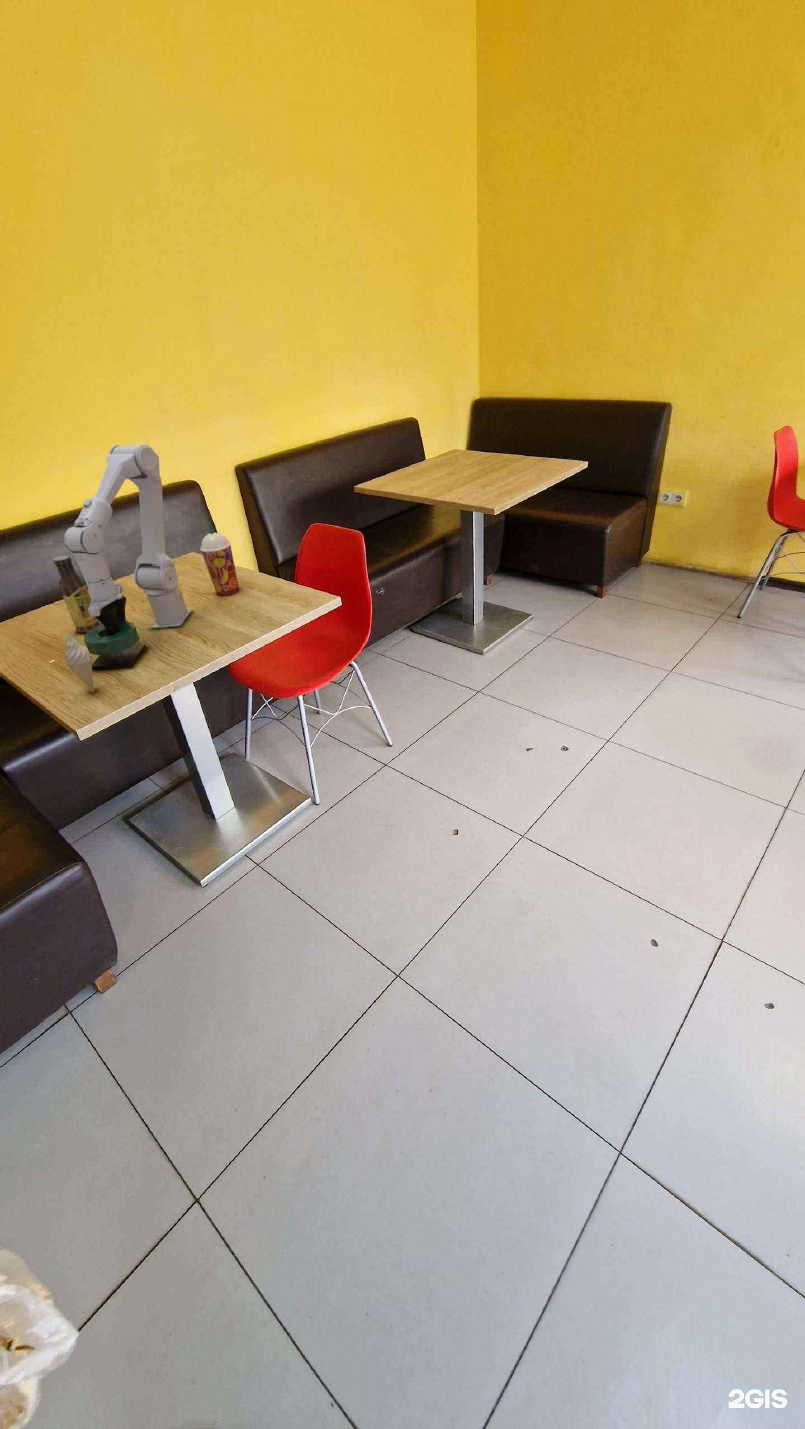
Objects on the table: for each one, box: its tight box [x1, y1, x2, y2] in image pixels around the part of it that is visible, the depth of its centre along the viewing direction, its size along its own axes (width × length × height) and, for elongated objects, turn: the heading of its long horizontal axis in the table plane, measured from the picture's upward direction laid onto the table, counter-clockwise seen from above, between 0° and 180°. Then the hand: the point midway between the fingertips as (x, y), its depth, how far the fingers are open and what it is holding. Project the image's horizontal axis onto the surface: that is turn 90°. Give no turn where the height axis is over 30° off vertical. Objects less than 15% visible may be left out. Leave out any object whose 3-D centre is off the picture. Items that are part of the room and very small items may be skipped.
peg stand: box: [91, 643, 148, 672], centre depth 152 cm, size 10×10×6 cm
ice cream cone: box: [63, 631, 95, 693], centre depth 137 cm, size 5×5×15 cm
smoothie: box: [200, 522, 239, 596], centre depth 178 cm, size 8×8×20 cm
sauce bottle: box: [52, 554, 101, 634], centre depth 166 cm, size 6×6×20 cm
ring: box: [83, 620, 141, 656], centre depth 151 cm, size 12×12×3 cm
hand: (118, 630), depth 154 cm, fingers closed on ring, 3 cm apart
